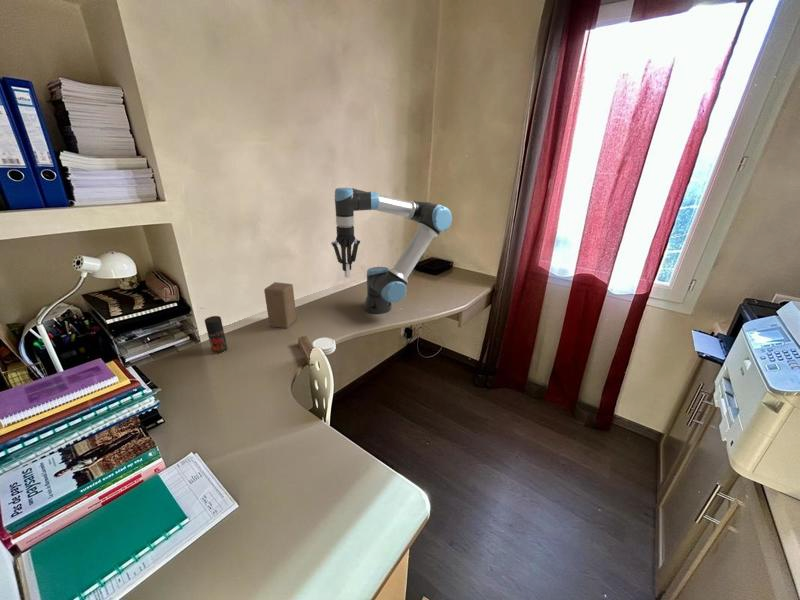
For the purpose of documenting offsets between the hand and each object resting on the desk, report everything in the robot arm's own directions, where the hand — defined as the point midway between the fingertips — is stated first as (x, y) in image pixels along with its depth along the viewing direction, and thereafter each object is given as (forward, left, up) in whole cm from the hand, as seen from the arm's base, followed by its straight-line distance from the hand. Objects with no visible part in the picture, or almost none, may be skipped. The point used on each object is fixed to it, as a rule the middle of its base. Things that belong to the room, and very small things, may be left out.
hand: (347, 276), depth 155 cm
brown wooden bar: (+24, +14, -26) cm, 38 cm away
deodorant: (+57, -5, -27) cm, 63 cm away
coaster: (+17, +14, -27) cm, 35 cm away
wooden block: (+28, -18, -27) cm, 43 cm away
